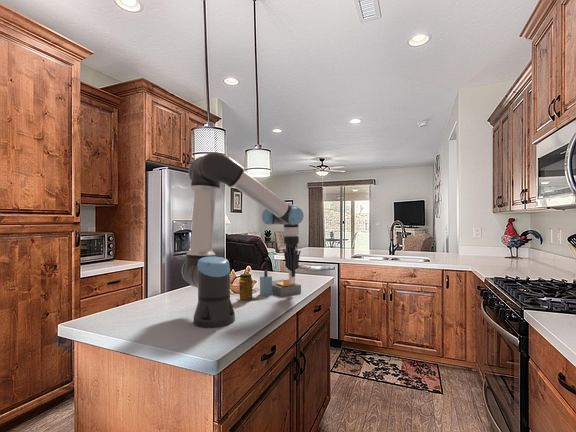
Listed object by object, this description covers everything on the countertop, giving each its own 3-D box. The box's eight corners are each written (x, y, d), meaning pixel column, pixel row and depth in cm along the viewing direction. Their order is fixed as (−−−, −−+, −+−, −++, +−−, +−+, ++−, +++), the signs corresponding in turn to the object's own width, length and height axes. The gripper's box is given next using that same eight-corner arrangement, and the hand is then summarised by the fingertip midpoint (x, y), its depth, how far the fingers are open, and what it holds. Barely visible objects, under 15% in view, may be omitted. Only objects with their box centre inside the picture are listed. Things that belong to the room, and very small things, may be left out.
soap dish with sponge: (301, 292, 160) (300, 284, 160) (281, 296, 154) (280, 288, 154) (282, 286, 175) (282, 279, 175) (263, 289, 169) (263, 282, 169)
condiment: (236, 299, 149) (235, 274, 149) (251, 296, 154) (251, 272, 154) (243, 302, 143) (243, 276, 143) (259, 299, 148) (259, 274, 148)
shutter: (296, 284, 160) (296, 278, 160) (283, 286, 156) (282, 280, 156) (288, 282, 166) (288, 276, 166) (275, 283, 162) (275, 277, 162)
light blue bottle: (272, 294, 158) (271, 270, 158) (264, 295, 155) (263, 271, 155) (267, 292, 161) (267, 269, 161) (260, 294, 159) (259, 270, 159)
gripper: (304, 235, 153) (305, 284, 153) (290, 235, 164) (291, 280, 164) (292, 236, 149) (292, 286, 149) (278, 235, 160) (279, 281, 160)
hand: (292, 282), depth 156 cm, fingers closed
